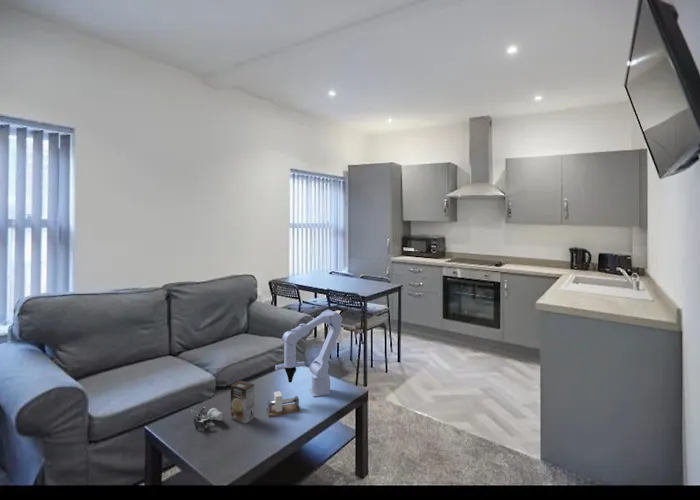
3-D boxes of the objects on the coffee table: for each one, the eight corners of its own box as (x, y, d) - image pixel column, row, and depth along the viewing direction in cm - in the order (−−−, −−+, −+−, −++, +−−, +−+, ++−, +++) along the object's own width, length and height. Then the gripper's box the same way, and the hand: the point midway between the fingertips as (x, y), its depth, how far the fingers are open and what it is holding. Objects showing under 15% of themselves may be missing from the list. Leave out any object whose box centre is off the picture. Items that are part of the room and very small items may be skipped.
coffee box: (229, 419, 172) (229, 385, 171) (239, 412, 178) (239, 379, 177) (245, 424, 168) (245, 389, 167) (255, 417, 174) (254, 383, 173)
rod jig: (297, 404, 186) (297, 393, 186) (300, 411, 180) (300, 400, 179) (266, 409, 181) (266, 398, 181) (268, 417, 174) (268, 405, 174)
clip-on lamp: (186, 425, 172) (202, 433, 159) (183, 411, 172) (199, 418, 159) (210, 413, 180) (228, 420, 168) (207, 400, 180) (225, 406, 168)
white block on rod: (280, 405, 182) (280, 391, 182) (282, 410, 177) (282, 395, 177) (273, 406, 181) (273, 391, 181) (275, 412, 176) (275, 396, 176)
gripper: (302, 351, 195) (302, 376, 196) (274, 354, 190) (274, 380, 191) (305, 355, 188) (305, 382, 190) (276, 359, 183) (276, 386, 184)
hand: (290, 381), depth 190 cm, fingers closed
